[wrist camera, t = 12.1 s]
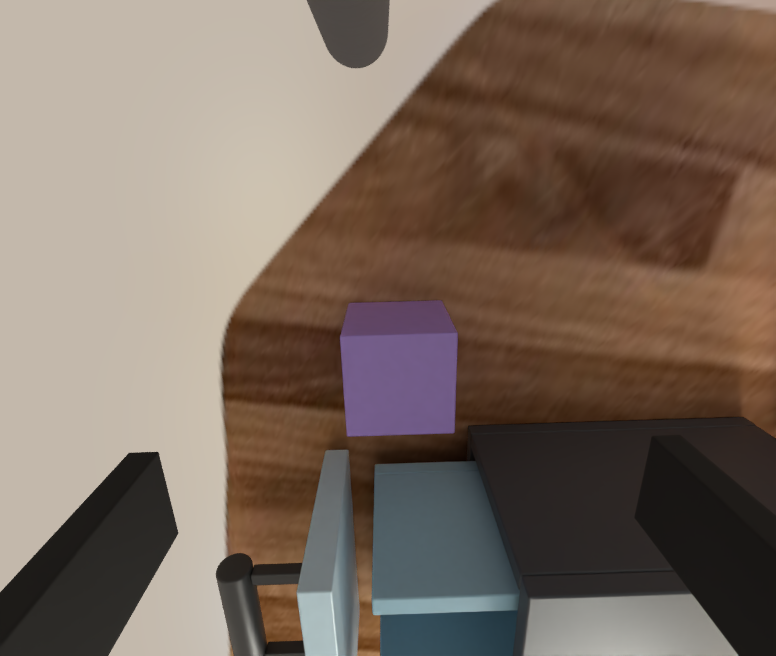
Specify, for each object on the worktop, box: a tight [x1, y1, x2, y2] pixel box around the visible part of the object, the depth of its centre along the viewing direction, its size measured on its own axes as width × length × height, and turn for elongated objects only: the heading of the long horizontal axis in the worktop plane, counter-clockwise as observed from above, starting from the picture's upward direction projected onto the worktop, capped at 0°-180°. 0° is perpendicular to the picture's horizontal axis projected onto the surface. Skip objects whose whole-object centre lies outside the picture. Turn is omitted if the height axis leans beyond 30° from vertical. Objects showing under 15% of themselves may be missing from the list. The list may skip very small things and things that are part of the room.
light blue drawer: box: [216, 450, 520, 656], centre depth 20 cm, size 18×11×8 cm, turn 91°
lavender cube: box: [340, 300, 458, 437], centre depth 18 cm, size 4×4×4 cm
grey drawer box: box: [467, 417, 776, 656], centre depth 20 cm, size 15×13×10 cm
